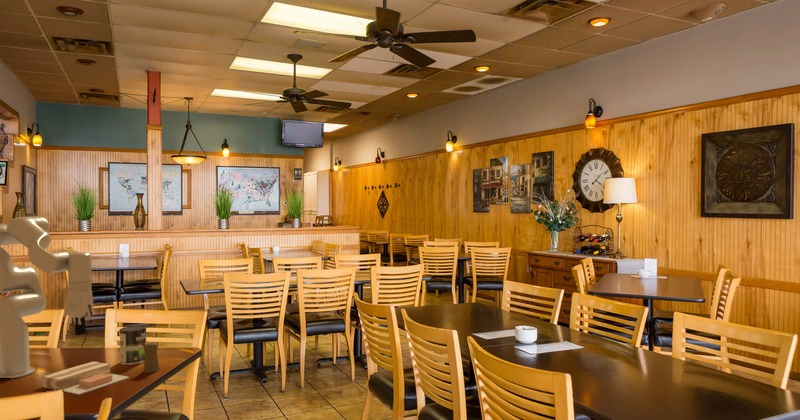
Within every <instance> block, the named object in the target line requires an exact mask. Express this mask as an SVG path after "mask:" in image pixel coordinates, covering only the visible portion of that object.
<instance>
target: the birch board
mask: <svg viewBox="0 0 800 420" xmlns="http://www.w3.org/2000/svg"><path fill="white" fill-rule="evenodd" d="M101 373H103V374H111V364H110V363H106V362H105V363H104V362H99V361H95V360H94V361H90V362H87V363H84V364H80V365H79V364H78V365H75V366H73V367H69V368H66V369H62V370H60V371H59V370H58V371H55V372H52V373H49V374H45V375H42V376H41V378H42V379H41V381H42V382H41V383H42V388H45V389H50V390H55V391H57V390H56V389H64V388H67V387H70V386H73V385H76V384H79V380H82V379H85V378H89V377H92V376H95V375H98V374H101Z"/></svg>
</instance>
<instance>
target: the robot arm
mask: <svg viewBox="0 0 800 420" xmlns="http://www.w3.org/2000/svg"><path fill="white" fill-rule="evenodd" d="M50 229H51V227H50V222H49V221H48V220H47V219H46V218H45V217H44V216H39V215H38V216H37V215H36V216H35V215H33V216H17V217H14V218H12V219H10V220H9V221H8V223H0V293H5V294H6V293H11V292H17V291H21V292H17V293H12V294H8V295H4V296H1V297H0V378H10V379H15V378H21V377H25V376H28V375H31V374H33V373H34V372H35V367H33V366H30V363H31V362H30V361H31V360H30V338H29V336H30V335H29V334H30V333H29V326H28V324H27V323H26V322H25V321H24V319H23V318H24V317H29V316H33V315H34V316H35V315H37V314H40V313H42V312H43V311H44V310H45V308H46V305H47V301H46V295H45V292H44V290H43V286H42V283H41V279H40V276H39V274H38V272H37V271H36V270H35V269H34V268H33V267H31V266H27V265H26V266H25V265H23V266H15V264H14V262H13V261H14V260H13V258H12V256H11V254H10V253H9V252H8V251H7V250H5V248H3V247H2V246H5V245H8V246H9V245H20V244H22V245H23V246H25V248H26V249H27V254H28V259H29V260H30V263H31V265H33V266H35V267H36V268H37V269H38V270H40V271H42V272H44V273H46V274H54V273H61V272H68V274H67V275H68V276H67V277H68V278H67V279H68V280H67V281H68V282H67V283H68V284H67V287H68V288H67V291H66V297H65V315H66V316H68V317H70V319H73V324H74V336H77V337H78V336H83V335H86V333H87V332H86V331H87V330H86V329H87V328H86V324H87V323H88V321H90V320H92V315H94V297H93V292H92V284H93V283H92V255H91V253H90V252H81V251H80V252H79V251H77V250H76V251H75V250H64V251H61V250H60V251H54V252H49V251H47V250H46V249H48V247H49V246H50V244H51V242H52V241H51V240H52V237H51V235H50V234H49V232H50V231H51V230H50Z"/></svg>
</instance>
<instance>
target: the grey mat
mask: <svg viewBox="0 0 800 420" xmlns="http://www.w3.org/2000/svg"><path fill="white" fill-rule="evenodd" d="M108 375H112V379H113V381H110V382H107V383H104V384H101V385H98V386H95V387H92V388H87V387H82V386H79V384H76V385H73V386H70V387H67V388H64V389H63V390H64V392H63V393H69V394H73V395H76V396H77V395H78V396H80V395H83V394H86V393H89V392H92V391H96V390H98V389H101V388H103V387H107V386H110V385H113V384H116V383H119V382H123V381H125V380H128V379H130V377H129V376H127V375H120V374H116V373H110V374H108Z"/></svg>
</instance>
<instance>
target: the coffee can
mask: <svg viewBox="0 0 800 420" xmlns="http://www.w3.org/2000/svg"><path fill="white" fill-rule="evenodd" d="M118 330H119V331H118V332H119V352H120V354H119V356H120V365H124V366H131V365H132V366H133V365H138V364H144V360H145V351H144V345H145V344H147V326H146V325H131V326H125V327H122V328H119V329H118Z"/></svg>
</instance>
